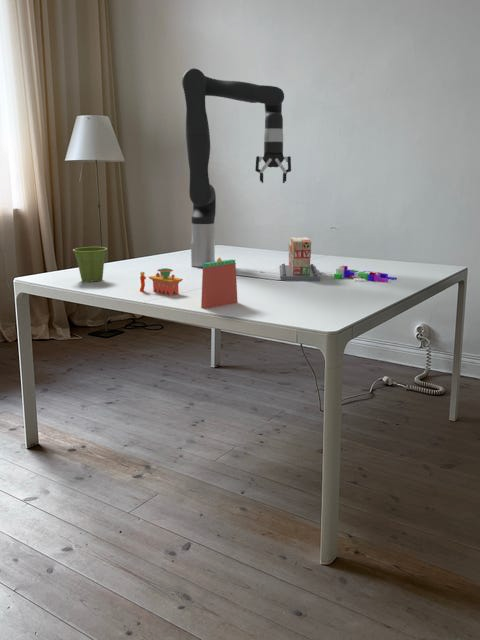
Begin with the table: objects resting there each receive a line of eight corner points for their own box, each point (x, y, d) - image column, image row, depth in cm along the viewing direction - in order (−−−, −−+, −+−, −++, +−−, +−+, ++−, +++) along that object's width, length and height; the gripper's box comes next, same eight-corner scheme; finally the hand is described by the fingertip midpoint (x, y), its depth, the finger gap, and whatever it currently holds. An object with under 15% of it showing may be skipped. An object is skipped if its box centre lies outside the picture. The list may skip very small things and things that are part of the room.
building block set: (404, 278, 234) (404, 266, 233) (380, 286, 218) (381, 273, 217) (343, 271, 248) (344, 260, 247) (317, 278, 232) (317, 266, 231)
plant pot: (80, 277, 230) (78, 246, 227) (112, 277, 229) (111, 246, 226) (69, 283, 218) (67, 250, 215) (103, 283, 217) (102, 251, 215)
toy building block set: (205, 309, 179) (205, 259, 176) (135, 292, 204) (133, 248, 200) (237, 303, 187) (237, 255, 184) (166, 287, 212) (165, 245, 209)
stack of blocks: (288, 266, 247) (288, 234, 244) (304, 266, 247) (304, 234, 245) (293, 275, 227) (293, 240, 224) (310, 275, 227) (311, 240, 224)
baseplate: (280, 280, 224) (280, 273, 224) (279, 269, 250) (279, 263, 249) (320, 280, 224) (320, 274, 223) (314, 269, 249) (315, 263, 248)
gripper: (255, 140, 246) (255, 183, 249) (292, 140, 245) (291, 183, 249) (255, 141, 253) (255, 182, 257) (291, 141, 252) (290, 182, 256)
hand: (273, 183), depth 253 cm, fingers open, 8 cm apart
